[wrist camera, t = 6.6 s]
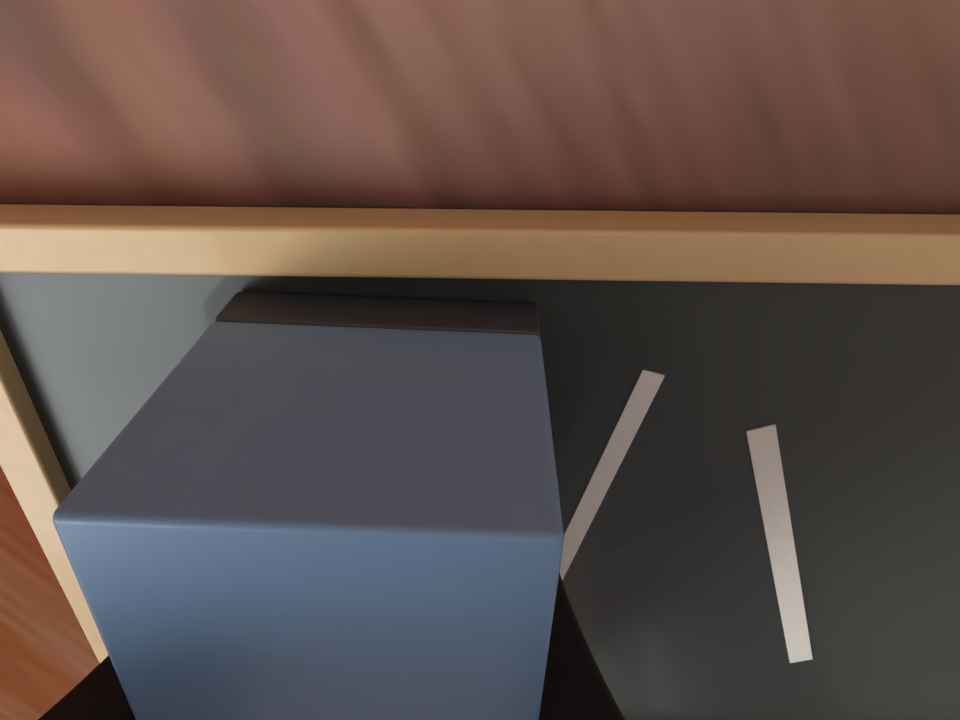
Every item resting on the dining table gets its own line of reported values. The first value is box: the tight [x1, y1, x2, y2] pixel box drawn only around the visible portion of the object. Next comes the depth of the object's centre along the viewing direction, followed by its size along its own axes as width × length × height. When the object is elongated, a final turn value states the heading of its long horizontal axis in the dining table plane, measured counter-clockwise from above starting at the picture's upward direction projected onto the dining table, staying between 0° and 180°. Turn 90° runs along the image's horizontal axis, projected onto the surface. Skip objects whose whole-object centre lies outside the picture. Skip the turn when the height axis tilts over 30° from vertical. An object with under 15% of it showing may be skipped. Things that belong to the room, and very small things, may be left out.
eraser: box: [53, 292, 564, 720], centre depth 11 cm, size 10×5×5 cm, turn 178°
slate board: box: [0, 204, 960, 720], centre depth 13 cm, size 14×26×1 cm, turn 90°
